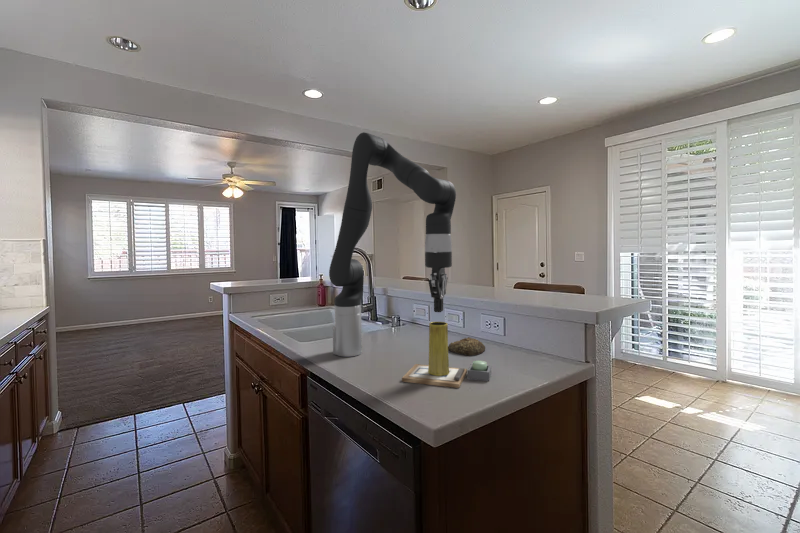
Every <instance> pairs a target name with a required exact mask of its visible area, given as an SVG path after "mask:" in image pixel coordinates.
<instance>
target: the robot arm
mask: <svg viewBox="0 0 800 533" xmlns="http://www.w3.org/2000/svg"><path fill="white" fill-rule="evenodd" d="M350 161H351V162H350V172H349V173H350V174H349V181H348V188H347V191H346V197H345V202H344V204H343V211H342V216H341V217H342V218H341V223H340V228H339V232H338V236H337V242H336V245H335V248H334V252H333V255H332V258H331V262H330V266H329V269H328V275H329V281H330V282H331V284H332V285H333V286H334V287H342V289H341V291H340V293H338V295H336V296H335V297H334V326H333V327H332V355H336V356H339V357H354V356H355V357H356V356H359V355H361V354H363V352H362V350H363V349H362V348H363V346H362V339H363V338H362V298H363V296H364V282H365V281H364V279H365V278H364V277H365V276H364V268H363V265H362V263H361V262H360V260H357V259H355V258H353V255H354V251H355V249H356V247H357V244H358V242H360V240H361V239H362V237H363V235H364V234H365V232H366V231H367V229H368V227H369V225H370V220H371V216H372V210H373V202H372V197H371V196H372V195H371V193H370V190H369V186H368V171H369V166H374V167H375V166H377V167H380V168H383V169H386V170H388V171H390V172H391V173H392V174H393V175H394V177H395V178H396V179H397V180H398V181H399V182H400V183H401V184H403V185H404V186H406V187H407V188H409V189H410V190H413V192H414V194H416V196H417V197H418V198H419V199H420V200H421V201H424V202H425V203H428V204H429V205H431V204H432V205H434V209H433V212H431V213H428V215H426V216H425V238H424V239H425V240H424V266H425V268H431V274H429V275H430V276H429V280H428V286H429V292H430V297H431V298H432V299H433V312H434V313H442V312H443V311H444V298H445V295H446V293H447V292H446V291H447V284H448V276H447V273H446V269H447V268H451V267H453V266H452V264H453V244H452V243H453V242H452V224H451V220H452V216H453V213H454V208H455V204H456V198H457V197H456V196H457V194H456V187H455V185H454V183H452V182H451V181H449V180H448V179H442V178H437V177H433V176H432V175H431V173H430V172H429V171H428V170H427V169H426V168H424V167H423V166H421V165H420V164H418V163H416V162H415V161H413V160H410V159H409V158H407V157H405V156H404V155H402V154H401V153H399V152H398V151H397V149H395V148H394V147H393V146H392V145H391V144H390V143H389V142H388V141H387V140H386V139H384V138H382V137H380V136H377V135H374V134H372V133H369V132H365V131H364V132H361V133H358V135H357V137H356V138H355V140H354V143H353V147H352V153H351V160H350Z"/></svg>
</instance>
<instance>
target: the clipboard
mask: <svg viewBox="0 0 800 533" xmlns="http://www.w3.org/2000/svg"><path fill="white" fill-rule="evenodd" d="M428 367H429V364H419V363H418V364H417V363H415V364H414V365H413V366H412V367H411V368H410V369H409V370H408V371H407V372H406V373H405V374H404V375H403V376H402V377H401V382H405V383H414V384H421V385H428V386H429V385H430V386H437V387H446V388H455V389H456V388H457V389H460V387H461V386H462V383H463V381H464V379H465V377H466V376H467V370H468V369H467V368H461V367H450V366H449V374H447V375H444V376H435V375H431V374H429V373H428Z"/></svg>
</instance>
